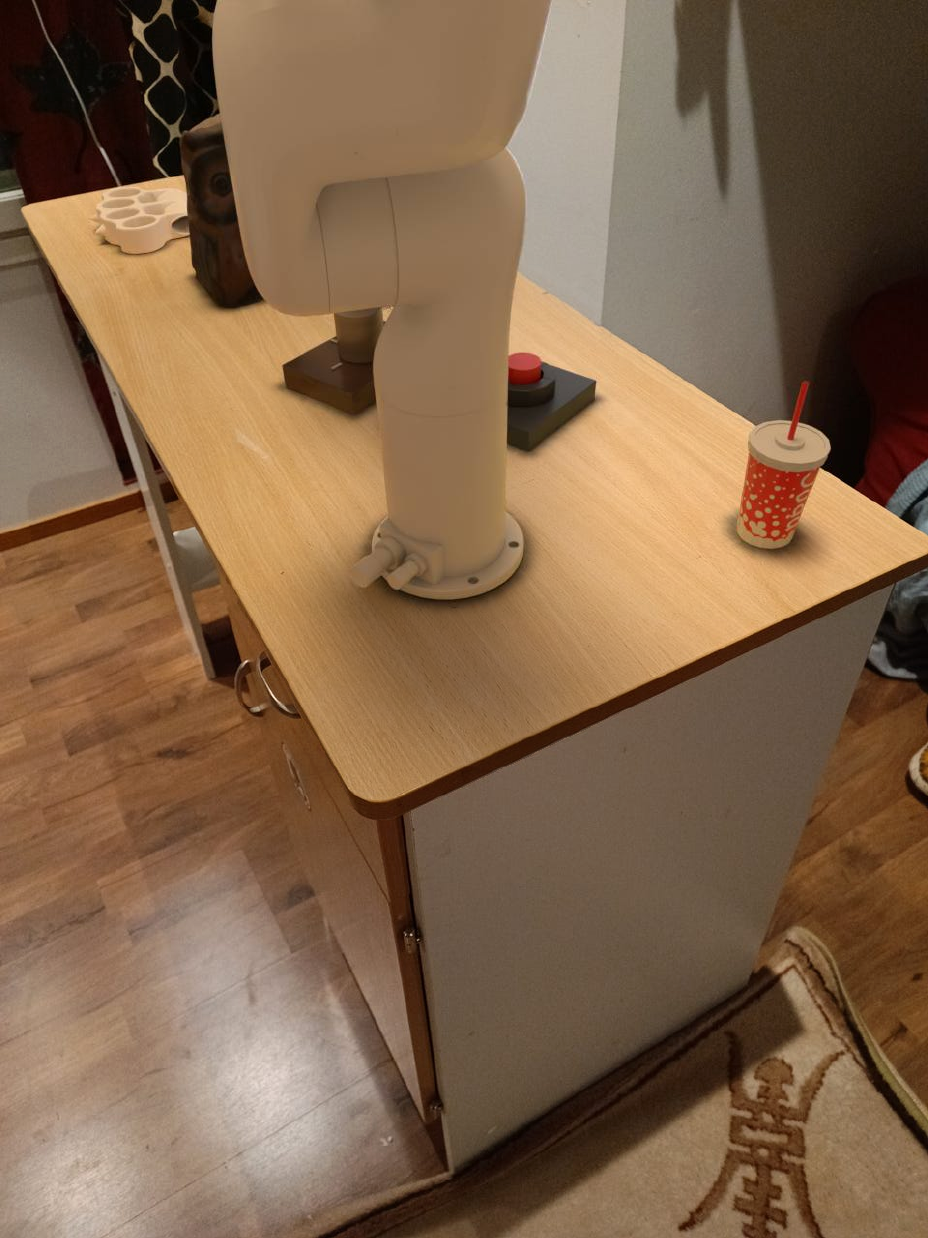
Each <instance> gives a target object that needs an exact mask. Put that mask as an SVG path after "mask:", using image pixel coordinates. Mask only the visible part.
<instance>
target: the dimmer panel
mask: <svg viewBox="0 0 928 1238" xmlns="http://www.w3.org/2000/svg"><path fill="white" fill-rule="evenodd" d="M385 322H386V320H383V325H384V324H385ZM281 367H282V373H283V379H284V385H285V388H289V389H290V390H293V391H295V392H298V393H301V394H302V395H305V396H308V397H310V398H312V399H314V400H317V401H319V402H321V403H324V404H326V405H329V406H331V407H334V408H335V409H338V410H341V411H343V412H345V413H348V414H350V415H352V416H356V415H357V414H359V413H361V412H362V411H364V410H365V409H367V408H368V407H370V406H372V405H373V404H375V403H376V392H375V385H374V374H373V362H368V363H351V362H347V361H345V360H343V359H342V358H341V357H340V356H339V352H338V344H337V336H336V335H335V336H333V337H331V338H329V339H328V340H326V341H324V342H322V343H320V344H319V345H316V346H315V347H313V348H311V349H310V350H307V351H305V352H304V353H302V354H300V355H298V356H296V357H294V358H293V359H290V360H289V361H287V362H285V363H284V364H282V365H281Z"/></svg>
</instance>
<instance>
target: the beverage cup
mask: <svg viewBox="0 0 928 1238" xmlns="http://www.w3.org/2000/svg"><path fill="white" fill-rule="evenodd" d="M809 385H810V382H809V381H807V380H803V381H802V383H801V386H800V390H799V393H798V397H797V401H796V405H795V408H794V412H793V416H792V419H791V420H783V419H775V420H770V421H764V422H762V423H760V424H758V425H755V426H754V427H753V428H752V430H751V431H750V432H749V434H748V440H747V450H748V452H749V453H748V457H747V464H746V469H745V476H744V481H743V486H742V492H741V499H740V504H739V510H738V517H737V523H736V533H737V534H738V536H739V537H740V539H741V540H743V541H744V542H746V543H747V544H749V545H750V546H754V547H756V548H759V549H769V550H773V549H781V548H783V547H785V546H787V545H789V544H790V542H791V540H792V539H793V537H794V534H795V532H796V530H797V526H798V524H799V522H800V519H801V516H802V514H803V511H804V509H805V507H806V504H807V502H808V499H809V496H810V495H811V494H810V493H811V491H812V489H813V487H814V483H815V481H816V480H817V479H816V478H817V476H818V473H819V472H820V470H821V469H820V468H821V467H822V466H823V465H824V464H825V462H826V461H827V459H828V456H829V454H830V452H831V450H832V448H831V443H830V440H829V438H828V437H827V436H826V435H825V434H824V433H823V432H822V431H820V430H819V429H818V428H816V427H813V426H811V425H809V424H806V423H802V422H799V421H800V418H801V414H802V410H803V406H804V403H805V400H806V397H807V392H808V389H809V387H810V386H809Z"/></svg>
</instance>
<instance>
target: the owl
mask: <svg viewBox="0 0 928 1238" xmlns="http://www.w3.org/2000/svg"><path fill="white" fill-rule="evenodd" d="M179 149H180V157H181V159H180V160H181V161H180V162H181V163H180V165H181V171H182V176H183V178H184V183H185V192H186V193H187V215H188V224H189V234H190V235H189V243H190V255H191V256H190V257H191V258H190V259H191V266H192V268H193V270H194V271H195V278H196V279H197V280H198V281H199V283H201V285H202V286H203V288H204V289H205V290H207V292H208V295H209V296H210V297H213V298H214V300H215V303H216V304H217V305H218V306H221V307H223V308H226V309H237V308H239V307H244V306H248V305H251V304H255V303H259V302H261V301H263V300H264V298H263V297H262V296H261V294H260V293H259V291H258V289H257V287H256V285H255V283H254V281H253V278H252V276H251V274H250V271H249V268H248V265H247V261H246V258H245V254H244V249H243V244H242V239H241V234H240V229H239V223H238V217H237V211H236V205H235V199H234V193H233V187H232V181H231V175H230V170H229V164H228V158H227V152H226V146H225V140H224V134H223V128H222V122H221V116H220V113H218V114H215V115H214V116H211V117H208V118H205V119H204V120H202V121H201V122H200V123H199V124H197V125H195V126H194V127H192V128H191V129H190V130H183V131H182V133H181V136H180V138H179Z"/></svg>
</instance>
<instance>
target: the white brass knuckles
mask: <svg viewBox="0 0 928 1238" xmlns="http://www.w3.org/2000/svg"><path fill="white" fill-rule="evenodd" d="M88 220H90V221H93V222H94V223H97V224H99V225H100V226H99V227H98V228H97V229H96V230H95V231H94V232H93V234H94V235H100V236H104V239H105V241H107V242H108V243H110V244H111V245H115V246H119V247H120V251H121V252H123V253H125V254H131V255H141V254H149V253H152V252H155V251H158V250H159V249H162V248H163V247H164V246H165V244H166V243H167V242H169V241H171V240H174V239H179V238H185V237H188V236H190V234H189V224H188V215H187V192H186V191H183V190H181V189H179V188H177V187H175V188H173V187H163V188H157V189H143V188H142V187H138V186H121V187H115V188H112V189H108V190H106V191H104V192H102V194H101V201H100V202H98V203H97V205H96V207H95V214H92V216H91V217H89V218H88Z"/></svg>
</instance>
